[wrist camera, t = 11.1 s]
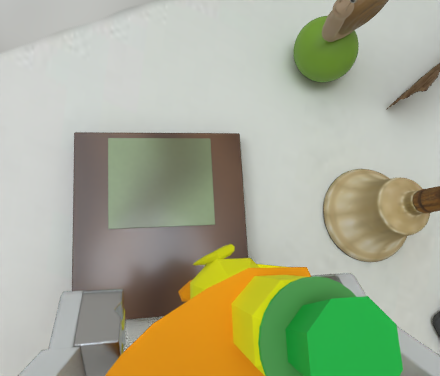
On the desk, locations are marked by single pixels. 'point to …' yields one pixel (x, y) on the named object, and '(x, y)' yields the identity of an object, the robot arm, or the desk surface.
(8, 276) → the desk surface
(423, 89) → the wood plank
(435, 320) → the cell phone
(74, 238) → the board
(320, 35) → the snail figurine
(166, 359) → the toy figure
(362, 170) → the hand bell
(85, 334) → the robot arm
